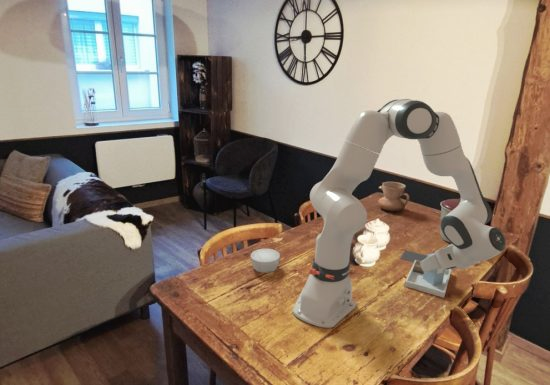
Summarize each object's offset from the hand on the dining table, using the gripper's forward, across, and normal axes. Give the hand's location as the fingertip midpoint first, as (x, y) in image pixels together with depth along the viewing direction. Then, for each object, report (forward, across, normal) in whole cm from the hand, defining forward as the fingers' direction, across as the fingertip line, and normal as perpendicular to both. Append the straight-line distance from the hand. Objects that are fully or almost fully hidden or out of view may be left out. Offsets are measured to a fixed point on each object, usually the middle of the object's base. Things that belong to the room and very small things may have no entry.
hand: (433, 266), depth 135 cm
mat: (+16, -6, -7) cm, 18 cm away
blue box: (+4, 0, +4) cm, 6 cm away
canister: (+21, -37, -12) cm, 44 cm away
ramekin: (+26, +54, -17) cm, 62 cm away
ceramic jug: (+50, -35, -41) cm, 74 cm away
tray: (+5, +1, +4) cm, 6 cm away
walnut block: (+9, -1, -1) cm, 9 cm away
